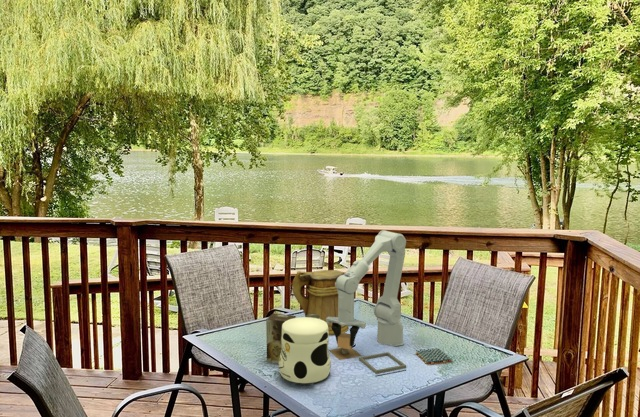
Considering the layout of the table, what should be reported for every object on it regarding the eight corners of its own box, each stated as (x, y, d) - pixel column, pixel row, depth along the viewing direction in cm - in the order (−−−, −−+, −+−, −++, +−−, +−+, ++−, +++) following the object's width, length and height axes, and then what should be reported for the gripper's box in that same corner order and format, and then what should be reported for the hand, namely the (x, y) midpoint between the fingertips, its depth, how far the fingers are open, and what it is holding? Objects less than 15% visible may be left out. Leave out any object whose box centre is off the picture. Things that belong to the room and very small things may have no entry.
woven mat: (427, 367, 180) (427, 361, 180) (413, 355, 190) (414, 349, 190) (453, 364, 183) (453, 358, 183) (439, 352, 193) (439, 347, 193)
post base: (350, 349, 193) (350, 339, 193) (361, 358, 185) (361, 348, 185) (328, 352, 190) (328, 343, 189) (339, 362, 182) (339, 352, 181)
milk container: (268, 374, 172) (268, 322, 170) (310, 361, 183) (310, 312, 180) (298, 394, 158) (298, 339, 156) (341, 379, 169) (342, 327, 167)
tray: (387, 357, 187) (388, 352, 187) (406, 370, 176) (406, 365, 176) (358, 362, 182) (358, 357, 182) (375, 376, 171) (375, 371, 171)
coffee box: (296, 358, 184) (296, 315, 182) (289, 366, 178) (289, 321, 176) (273, 355, 187) (273, 312, 185) (265, 362, 181) (265, 318, 179)
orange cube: (353, 344, 188) (353, 334, 188) (349, 349, 184) (349, 338, 184) (341, 342, 190) (341, 332, 189) (337, 347, 186) (337, 336, 185)
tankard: (351, 337, 205) (352, 277, 201) (292, 338, 203) (292, 277, 200) (345, 321, 223) (346, 265, 219) (291, 322, 221) (291, 266, 218)
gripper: (323, 309, 184) (322, 345, 186) (362, 314, 179) (361, 351, 181) (330, 303, 191) (329, 338, 192) (367, 308, 185) (366, 344, 187)
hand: (345, 344), depth 187 cm, fingers closed on orange cube, 4 cm apart
